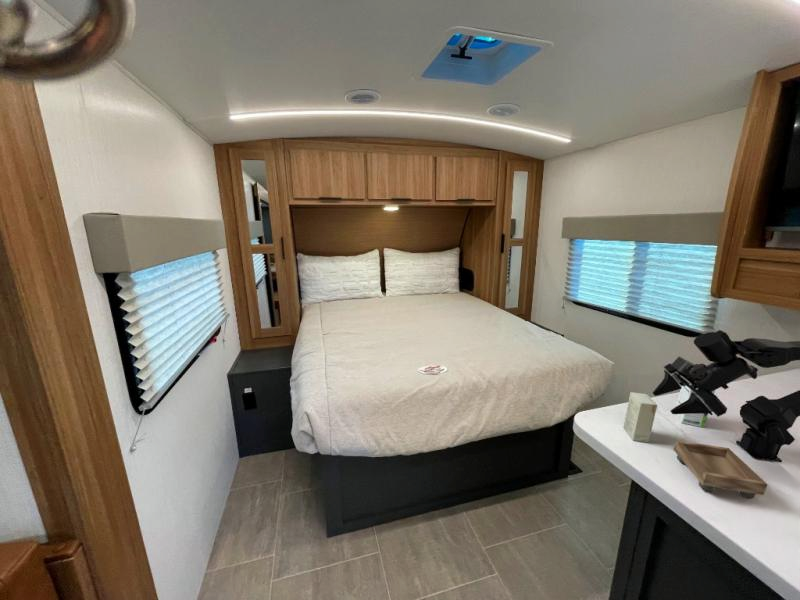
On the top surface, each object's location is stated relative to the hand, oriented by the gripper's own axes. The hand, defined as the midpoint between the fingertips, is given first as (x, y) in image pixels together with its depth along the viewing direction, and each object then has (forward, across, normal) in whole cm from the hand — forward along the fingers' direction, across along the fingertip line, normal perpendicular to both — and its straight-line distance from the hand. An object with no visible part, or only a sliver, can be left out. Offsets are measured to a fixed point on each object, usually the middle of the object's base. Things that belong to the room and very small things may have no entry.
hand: (662, 403), depth 90 cm
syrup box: (-3, -12, +19) cm, 23 cm away
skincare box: (+12, 0, +5) cm, 13 cm away
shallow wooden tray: (+4, +14, +13) cm, 19 cm away
